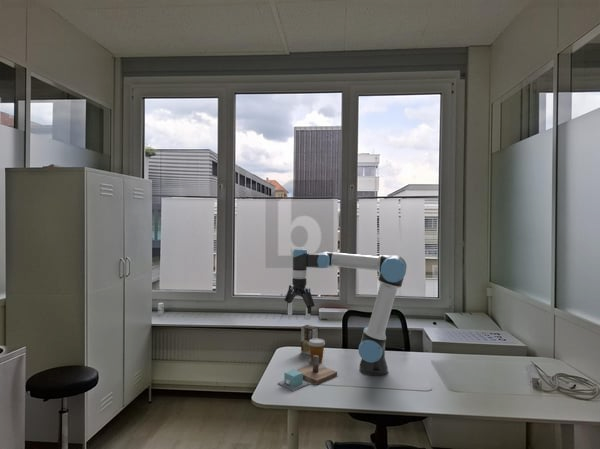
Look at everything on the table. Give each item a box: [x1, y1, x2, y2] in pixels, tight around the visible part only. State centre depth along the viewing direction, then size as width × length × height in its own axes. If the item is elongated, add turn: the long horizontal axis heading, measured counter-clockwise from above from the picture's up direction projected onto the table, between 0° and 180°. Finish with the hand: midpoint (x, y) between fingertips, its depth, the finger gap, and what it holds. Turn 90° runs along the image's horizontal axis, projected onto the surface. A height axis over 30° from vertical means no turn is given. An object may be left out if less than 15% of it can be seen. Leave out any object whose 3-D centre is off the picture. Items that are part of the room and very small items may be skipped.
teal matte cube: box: [283, 368, 304, 387], centre depth 194 cm, size 6×7×5 cm
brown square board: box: [296, 355, 338, 385], centre depth 205 cm, size 16×16×10 cm
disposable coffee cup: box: [309, 338, 326, 364], centre depth 225 cm, size 10×10×12 cm
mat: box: [277, 379, 310, 392], centre depth 194 cm, size 11×11×1 cm
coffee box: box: [300, 324, 320, 356], centre depth 238 cm, size 9×6×16 cm
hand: (298, 317), depth 211 cm, fingers open, 13 cm apart
